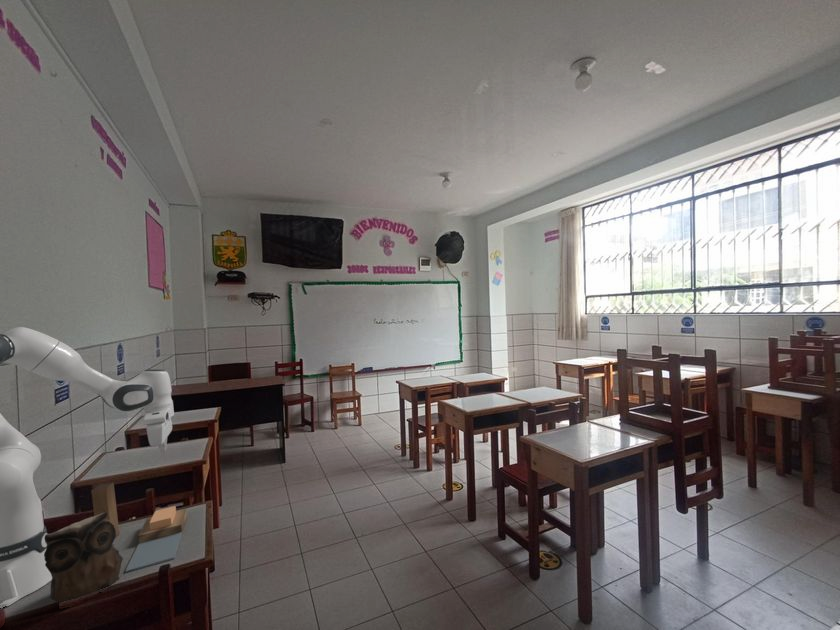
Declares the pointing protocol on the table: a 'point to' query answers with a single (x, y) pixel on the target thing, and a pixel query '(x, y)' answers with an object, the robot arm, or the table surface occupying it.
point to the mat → (154, 552)
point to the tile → (163, 518)
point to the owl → (82, 558)
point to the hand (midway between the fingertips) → (163, 450)
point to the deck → (164, 531)
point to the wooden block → (105, 502)
